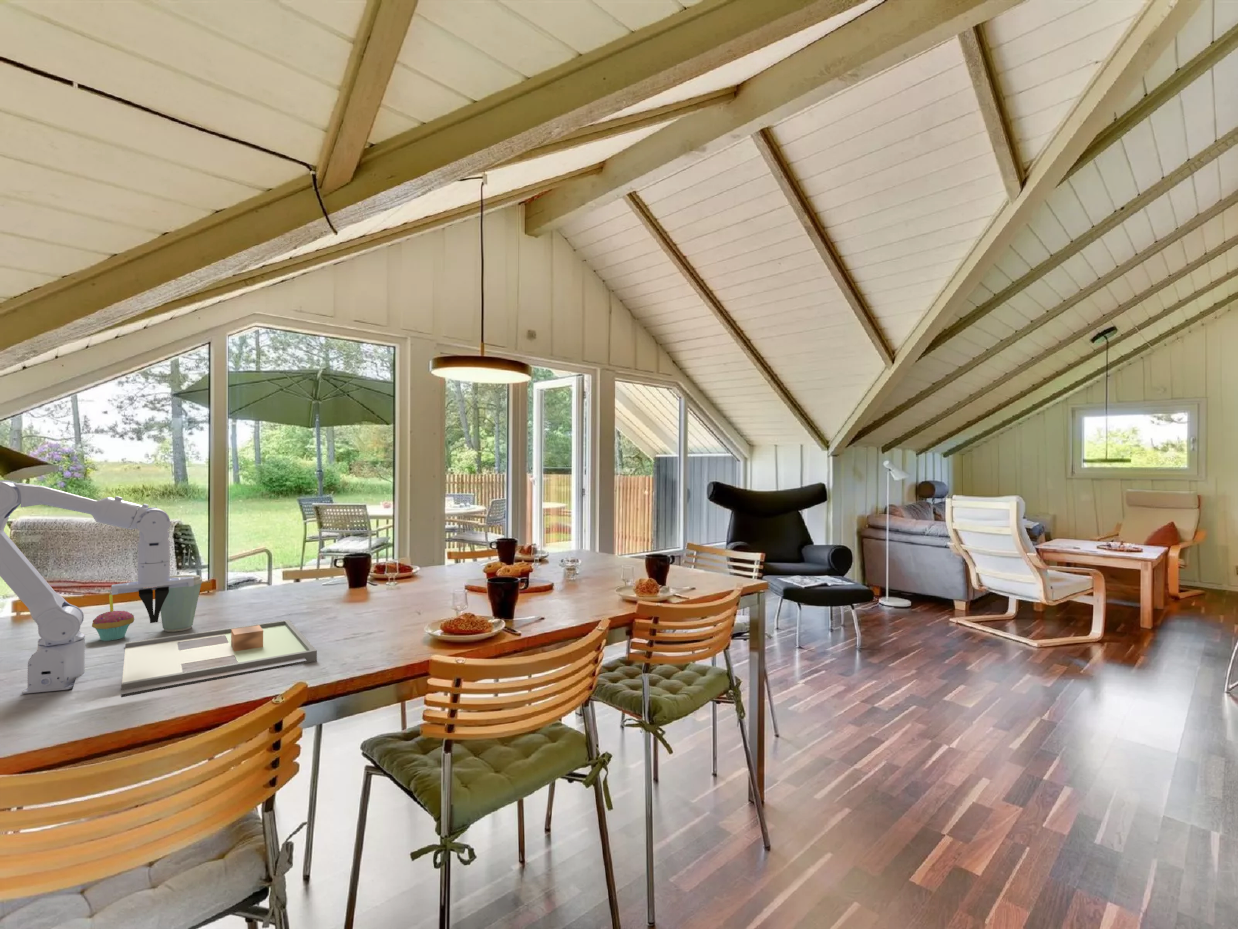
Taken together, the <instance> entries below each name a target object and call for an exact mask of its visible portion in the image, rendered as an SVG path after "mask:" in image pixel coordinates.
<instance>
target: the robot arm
mask: <svg viewBox="0 0 1238 929" xmlns="http://www.w3.org/2000/svg"><path fill="white" fill-rule="evenodd" d="M123 499H124V497H121V496H118V495H116V496H114V497H110V496H107V497H104V498H101V499H99V500H97V499H92V498H89V497H85V496H82V495H78V494H74V493H70V492H66V491H63V490H60V489H59V490H58V489H56V488H51V487H48V486H44V485H38V484H33V483H32V484H31V483H25V482H19V483H17V482H15V481H12V480H9V479H8V480H6V479H0V578H1V579H2V580H3V581H4V582H5V584H7V586H8V587H9V588H10V589H11V591H13V593H14V594H15V595H16V596H17V597H18V599H20V601H21V602H22V603H23V604H24V605H25V606H26V607H27V609H28V611H29V613H30V616H31V618H32V620H34V622H35V623H36V625H37V629H38V630H37V631H38V636H39V637H40V638H39V639H38V640H37V649H36V651H35V652H34V653H32V655H31V656H30V657H29V658H28V661H27V688H25V689H24V690H21V694H24V695H25V694H33V693H34V694H35V693H45V692H56V691H66V690H67V691H68V690H71V689H73V688H74V686H75V683H76V680H77V677H80V676H82V675H84V674H85V672H86V671H85V668H86V667H85V666H86V664H85V662H86V660H85V657H86V656H85V655H86V654H85V652H86V646H85V645H86V638H85V637H86V634H85V633H82V632H81V631H80V630H81V625H82V624H83V622H84V619H85V617H84V616H85V615H84V612H83V610H82V609H81V608H80V607H78V606H76V605H74V604H71V603H70V602H68V601H67V600H66V599H65V598H64V597H63V596H62V595H60V594H59V593H58V592H56V591H55V590H54V589H53V588H52V586H51V585H50V584H49V583H48V581H47V580H46V579H45V577H43V575H42V574H41V572H39V571H38V569H37V568H36V567H35V566H34V565H33V564H32V563H31V561H30V560H29V559H28V557H26V555H25V554H24V553H23V552H22V551H21V549H19V547H18V546H17V545H16V543H15V542H14V541H13V540H12V539H11V537H9V535H8V534H7V533H6V532H5V527H6V525H7V523H8V522H9V521H8V520H9V519H10V516H11V514H12V513H13V512H14V511H16V510H17V509H18V508H19V506H20V508H27V507H34V506H40V505H43V506H48V507H53V508H58V509H62V510H63V509H64V510H69V511H72V512H77V513H78V512H79V513H82V514H88V515H91V516H92V518H93V520H94V521H95V522H96V523H99V524H103V525H108V526H113V527H117V528H121V529H125V530H130V531H132V530H135V529H137V530H138V531H139V532H138V533H139V536H138V537H139V538H138V540H139V541H138V542H137V581H130V582H129V581H128V582H124V583H117V584H116V583H114V584H112V585H111V587H110V588H111V591H110V592H111V595H112V596H114V595H119V594H126V593H136V592H138V597H139V598H140V599H141V601H142V603H143V605H144V606H145V609H146V612H147V614H148V618H149V624H156V623H159V617H160V614H161V612H160V610H161V608H162V605H163V603H164V601H165V599H166V597H167V595H168V593H169V588H175V587H185V586H188V587H190V586H194V578H193V577H182V578H170V576H171V573H170V572H171V570H170V569H171V568H170V567H171V566H170V565H171V563H170V561H171V558H170V557H171V556H170V554H171V550H170V548H171V547H170V546H171V545H170V544H171V543H170V542H171V541H170V540H169V538H170V533H169V532H170V531H169V529H170V527H171V524H172V522H171V519H170V516H169V515H168V513H167V512H166V511H165V510H163V509H161V508H159V507H157V506H156V507H155V506H154V507H153V506H152V507H149V506H150V505H149V504H147V503H143V504H138V503H135V502H131V501H126V500H123ZM164 585H165V586H164ZM158 586H160V587H158Z"/></svg>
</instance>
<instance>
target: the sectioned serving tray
mask: <svg viewBox="0 0 1238 929" xmlns="http://www.w3.org/2000/svg"><path fill="white" fill-rule="evenodd" d="M257 625H260V627H261V628H262V629H263V647H259V648H253V649H247V650H241V651H234V650H233V648H232V646H231V629H236V628H243V627H250V626H257ZM224 636H225V638H226V640H227V642H225V643H218V644H213V645H212V644H210V645H207V646H206V645H205V646H198V647H192V648H186V649H179V645H178V644H179V643H184V642H189V641H191V642H192V641H196V640H203V639H210V638H218V637H224ZM124 645H125V648H124V658H123V659H124V660H123V668H122V676H121V686H120V687H121V688H120V690H122V691H124V690H127V689H133V688H139V687H145V686H149V685H150V686H151V685H155V684H156V685H157V684H161V683H167V682H174V681H178V680H184V679H189V678H196V677H200V676H207V675H211V674H218V673H223V672H228V671H236V670H240V669H245V668H251V667H252V668H253V667H256V666H261V665H268V664H274V663H279V662H280V663H281V662H285V661H291V660H297V659H301V658H304V659H305V660H303V661H297V662H296V661H295V662H290V663H285V664H279V665H274V666H270V667H263V668H257V669H252V670H246V671H241V672H236V673H230V674H226V675H219V676H214V677H209V678H204V679H203V678H202V679H197V680H192V681H187V682H186V681H185V682H181V683H175V684H169V685H165V686H158V687H153V688H149V689H148V688H147V689H141V690H137V691H133V692H132V691H131V692H126V693H121V694H120V696H121V698H125V697H129V696H135V695H141V694H146V693H151V692H156V691H162V690H167V689H168V690H169V689H173V688H178V687H179V688H180V687H184V686H190V685H195V684H200V683H206V682H211V681H217V680H221V679H223V680H224V679H227V678H232V677H237V676H243V675H248V674H249V675H250V674H253V673H260V672H264V671H269V670H270V671H271V670H277V669H281V668H282V669H283V668H287V667H292V666H299V665H304V664H309V663H314V662H317V660H318V659H317V657H318V656H317V655H318V653H317V652H318V650H317V649H316V648H315V646H314V645H312V643H311V642H310V641H309V640H308V639H307V638H306V637H305V636H304V635H303V633H301V631H300V630H299V629H298V628H297V627H296V626H295V624H293V622H292V621H291V620H290V619H284V620H277V621H271V622H270V621H269V622H263V623H255V624H247V625H241V626H233V627H226V628H219V629H213V630H207V631H206V630H205V631H199V632H192V633H191V632H190V633H185V634H184V633H183V634H176V635H170V636H169V635H168V636H163V637H155V638H149V639H148V638H147V639H142V640H135V641H134V640H133V641H128V642H127V641H126V642H125V644H124ZM232 656H234V657H235V659H236V661H237V662H234V663H229V664H224V665H216V666H211V667H206V668H200V669H194V670H187V671H183V666H182V665H184V664H189V663H190V664H191V663H197V662H203V661H208V660H215V659H220V658H228V657H232Z"/></svg>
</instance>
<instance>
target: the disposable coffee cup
mask: <svg viewBox="0 0 1238 929" xmlns="http://www.w3.org/2000/svg"><path fill="white" fill-rule="evenodd" d="M182 577H193V578H194V586H190V587H188V586H185V587H175V588H169V593H168V595H167V597H166V599H165V601H164V603H163V605H162V608H161V610H160V617H161V618H160V619H161V624H162V629H163V631H164V632H166V633H167V632H169V633H172V632H173V633H175V632H182V631H187V630H190V629H192V626H193V624H194V619H195V615H196V611H197V605H198V600H199V596H200V592H201V591H200V590H201V587H202V583H203V582H204V581H203V577H201V575H198V574H179V575H178V574H177V575H170V578H182ZM164 586H165V585H164ZM158 587H160V586H158Z"/></svg>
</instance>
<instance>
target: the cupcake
mask: <svg viewBox="0 0 1238 929" xmlns="http://www.w3.org/2000/svg"><path fill="white" fill-rule="evenodd" d="M113 596H114V595H111V591H109V596H108V597H109V598H108V599H109V611H107V612H102V613H100V614H98V615H97V616H96V617H95V618H93V619H92V624H91V627H92V628H93V629H95V630H96V632H97V633H98V636H99V639H100V640H101V641H104V642H106V641H109V642H110V641H115V640H120V639H123V638H124V637H126V633H127V630H128V629H129V627H130V625H131V624H133V623H134V621H135V617H134V616H135V615H134V614H132V613H130V612H129V611H127V610H126V611H125V610H114V601H113V600H114V597H113Z"/></svg>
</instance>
